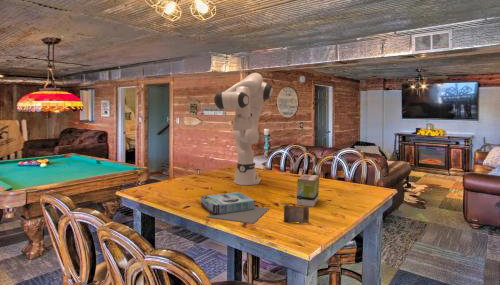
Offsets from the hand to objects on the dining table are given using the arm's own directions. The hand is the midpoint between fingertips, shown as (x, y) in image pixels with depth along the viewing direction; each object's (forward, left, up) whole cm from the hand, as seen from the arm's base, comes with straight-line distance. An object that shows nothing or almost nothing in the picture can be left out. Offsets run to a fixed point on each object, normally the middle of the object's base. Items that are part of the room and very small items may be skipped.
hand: (242, 137), depth 196 cm
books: (+34, +41, -36) cm, 65 cm away
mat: (+32, +12, -35) cm, 49 cm away
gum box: (+18, +10, -32) cm, 38 cm away
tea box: (0, +40, -35) cm, 53 cm away
